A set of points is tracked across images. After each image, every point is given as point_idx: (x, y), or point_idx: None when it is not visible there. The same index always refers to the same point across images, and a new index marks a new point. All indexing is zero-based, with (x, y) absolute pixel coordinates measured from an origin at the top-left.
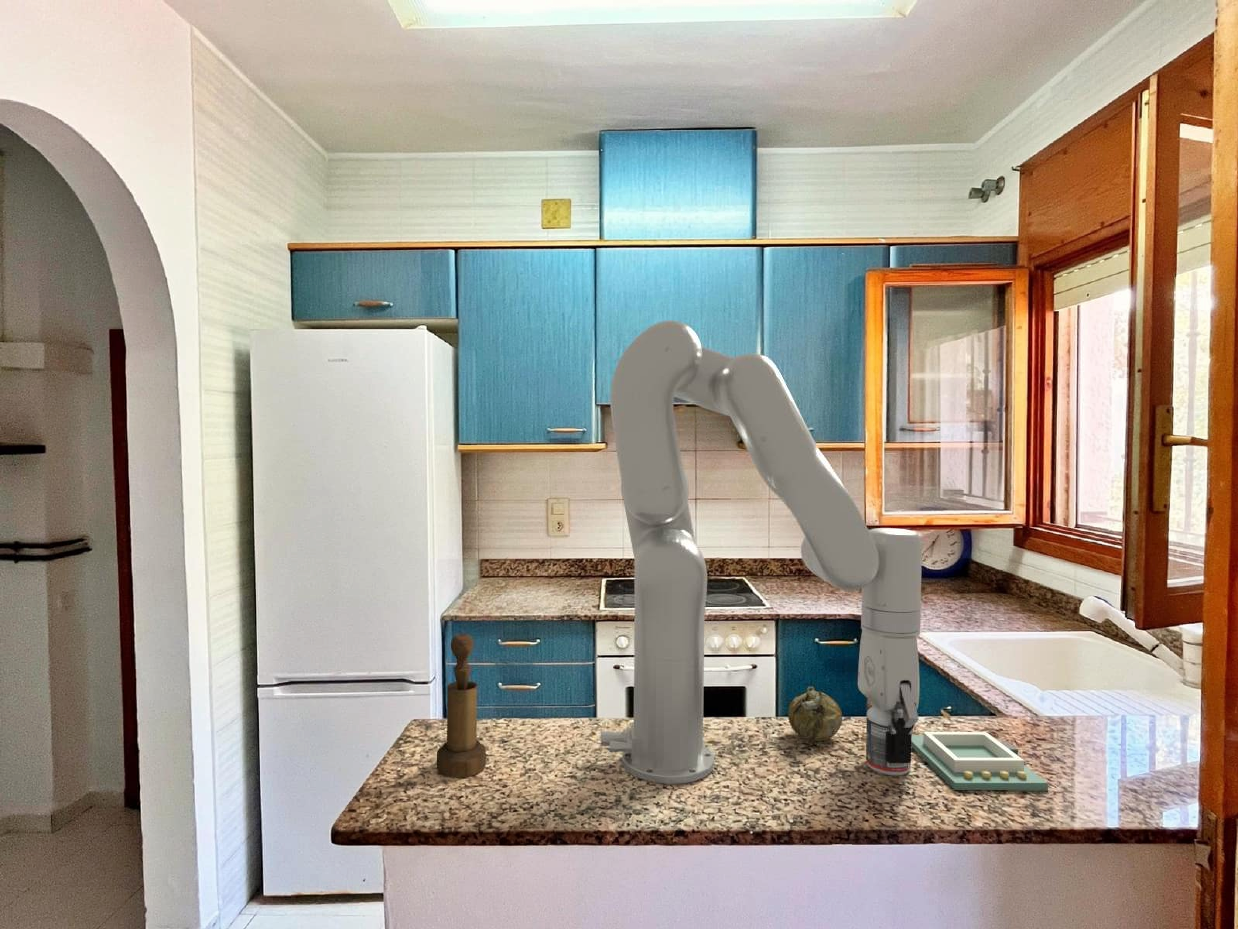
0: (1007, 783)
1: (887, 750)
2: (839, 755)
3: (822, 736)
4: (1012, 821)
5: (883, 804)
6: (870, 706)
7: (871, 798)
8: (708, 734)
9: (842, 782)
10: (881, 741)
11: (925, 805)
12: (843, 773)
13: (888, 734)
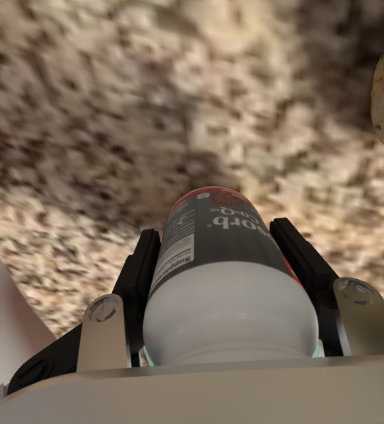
0: (147, 359)
1: (137, 247)
2: (280, 128)
3: (373, 84)
4: (59, 328)
5: (30, 170)
6: (338, 307)
7: (48, 151)
8: None
9: (113, 95)
10: (164, 249)
11: (61, 244)
12: (169, 112)
13: (121, 286)
